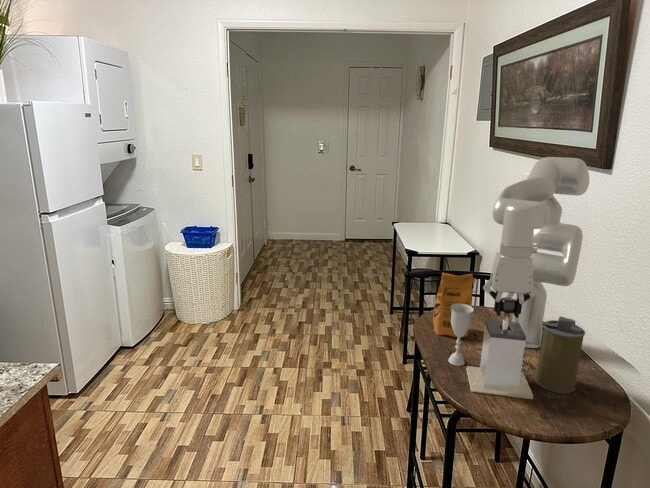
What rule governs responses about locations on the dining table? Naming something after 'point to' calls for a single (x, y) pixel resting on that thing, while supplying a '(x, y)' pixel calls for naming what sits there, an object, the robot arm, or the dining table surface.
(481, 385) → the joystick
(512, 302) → the plunger
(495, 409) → the dining table surface
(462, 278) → the coffee package
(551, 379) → the canister
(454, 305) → the chalice
